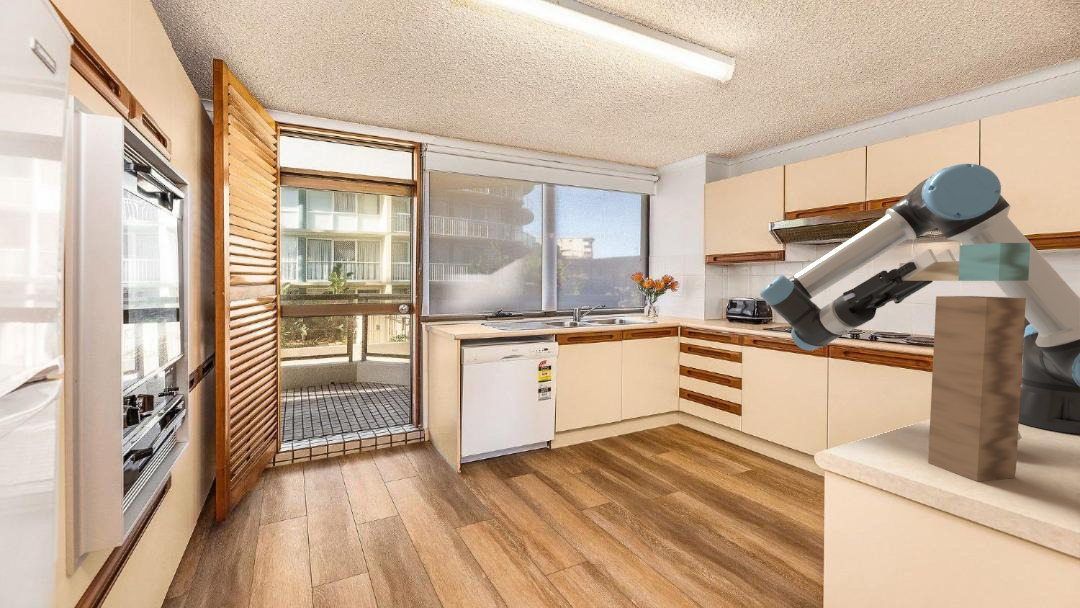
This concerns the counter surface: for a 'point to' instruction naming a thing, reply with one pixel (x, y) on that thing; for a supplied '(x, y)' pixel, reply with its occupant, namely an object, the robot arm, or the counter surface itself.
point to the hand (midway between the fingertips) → (942, 255)
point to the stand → (976, 385)
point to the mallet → (982, 264)
